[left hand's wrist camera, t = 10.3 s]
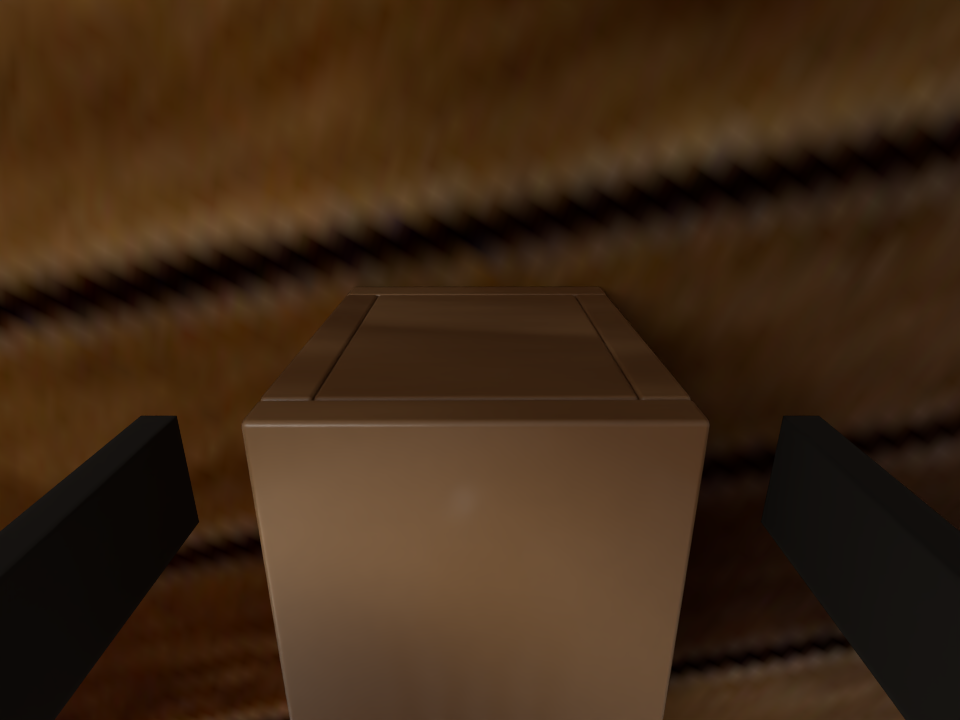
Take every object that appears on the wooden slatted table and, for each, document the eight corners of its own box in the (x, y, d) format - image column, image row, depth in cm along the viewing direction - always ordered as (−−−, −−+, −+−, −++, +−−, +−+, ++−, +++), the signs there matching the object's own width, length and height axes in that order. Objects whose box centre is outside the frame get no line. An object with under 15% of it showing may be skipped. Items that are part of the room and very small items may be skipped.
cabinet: (567, 724, 21) (614, 1035, 14) (388, 725, 21) (340, 1036, 14) (600, 286, 15) (713, 421, 8) (353, 286, 15) (238, 422, 8)
